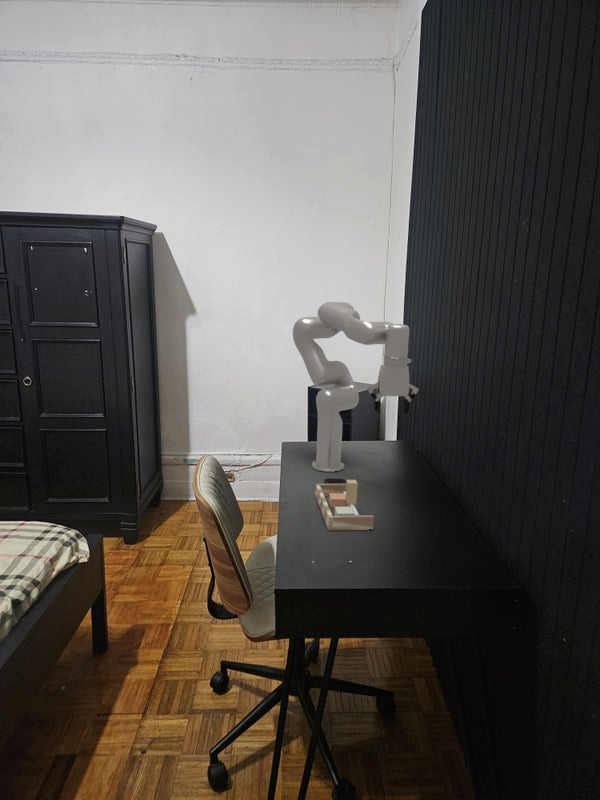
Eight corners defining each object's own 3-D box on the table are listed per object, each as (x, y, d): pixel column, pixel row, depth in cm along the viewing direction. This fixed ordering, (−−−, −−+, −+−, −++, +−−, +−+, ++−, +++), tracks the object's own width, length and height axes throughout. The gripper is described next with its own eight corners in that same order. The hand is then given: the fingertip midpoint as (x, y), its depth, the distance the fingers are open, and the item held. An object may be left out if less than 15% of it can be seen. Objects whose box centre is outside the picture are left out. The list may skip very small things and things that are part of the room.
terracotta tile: (328, 501, 176) (329, 493, 175) (343, 501, 176) (344, 493, 176) (330, 508, 171) (330, 499, 170) (345, 508, 171) (346, 499, 171)
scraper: (340, 500, 177) (341, 471, 175) (349, 499, 178) (350, 471, 176) (351, 524, 160) (353, 492, 158) (361, 523, 160) (363, 492, 158)
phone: (345, 479, 194) (348, 495, 179) (345, 482, 194) (348, 498, 180) (324, 478, 194) (325, 494, 180) (324, 481, 194) (325, 497, 180)
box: (315, 495, 180) (315, 483, 179) (353, 494, 182) (354, 483, 181) (328, 530, 155) (329, 517, 154) (373, 529, 156) (373, 516, 156)
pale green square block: (334, 515, 165) (334, 506, 165) (350, 515, 166) (350, 506, 165) (337, 522, 161) (337, 513, 160) (353, 522, 161) (353, 513, 160)
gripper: (416, 360, 181) (412, 409, 185) (366, 359, 179) (363, 409, 183) (424, 364, 174) (419, 415, 177) (372, 363, 172) (368, 414, 175)
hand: (391, 412), depth 180 cm, fingers open, 9 cm apart
